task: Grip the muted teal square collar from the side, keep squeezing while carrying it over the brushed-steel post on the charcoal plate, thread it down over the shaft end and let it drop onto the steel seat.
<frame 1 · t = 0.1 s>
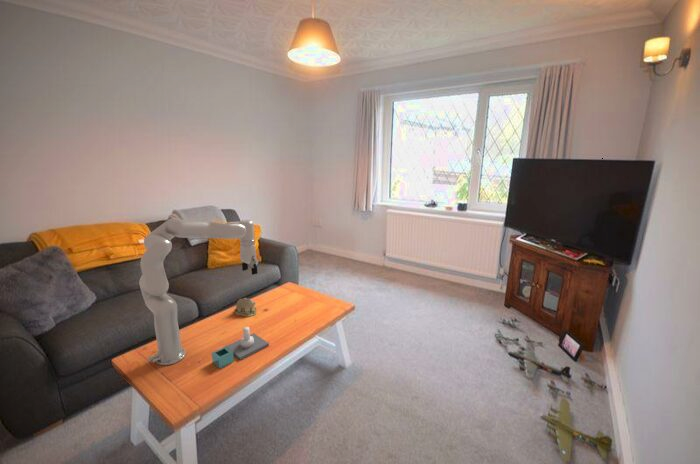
hand: (249, 271, 177), 31 cm above the table, fingers open, 9 cm apart
ceramic model: (245, 313, 196), on the table
post plate: (247, 347, 160), on the table
collar: (223, 361, 149), on the table
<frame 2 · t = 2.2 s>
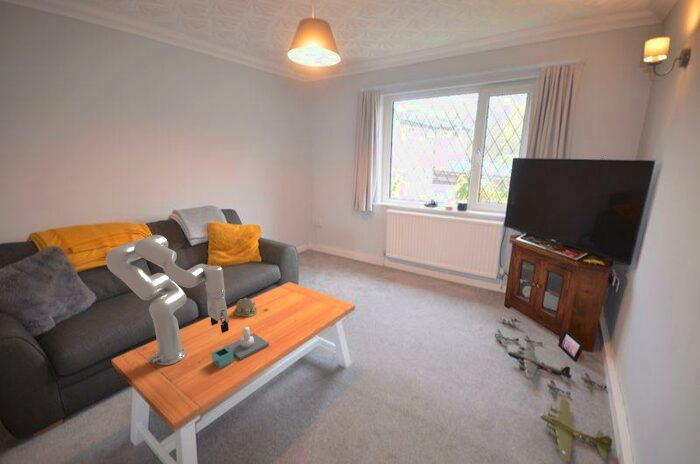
hand: (219, 327, 145), 18 cm above the table, fingers open, 9 cm apart
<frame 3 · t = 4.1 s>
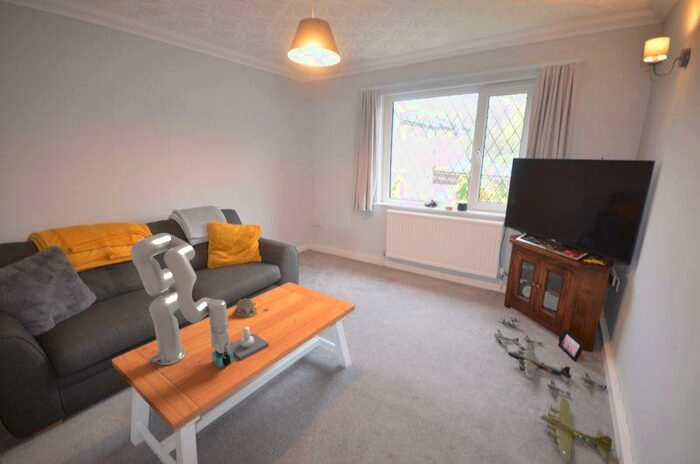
hand: (223, 360, 149), 1 cm above the table, fingers closed on collar, 7 cm apart
collar: (223, 361, 149), on the table, touching gripper
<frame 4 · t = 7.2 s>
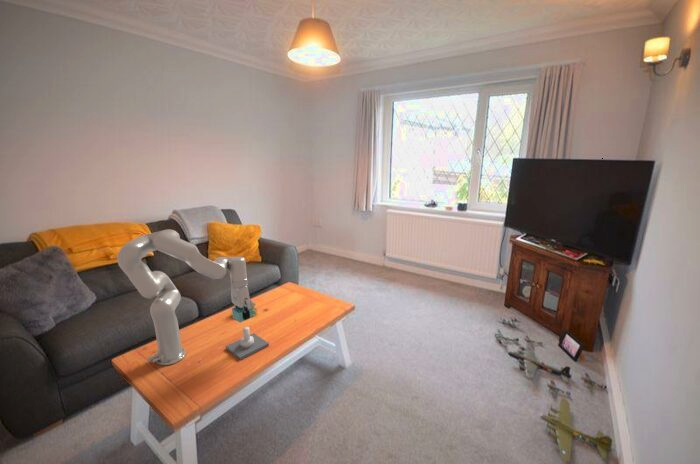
hand: (242, 316, 155), 18 cm above the table, fingers closed on collar, 7 cm apart
collar: (242, 317, 155), point 17 cm above the table, touching gripper
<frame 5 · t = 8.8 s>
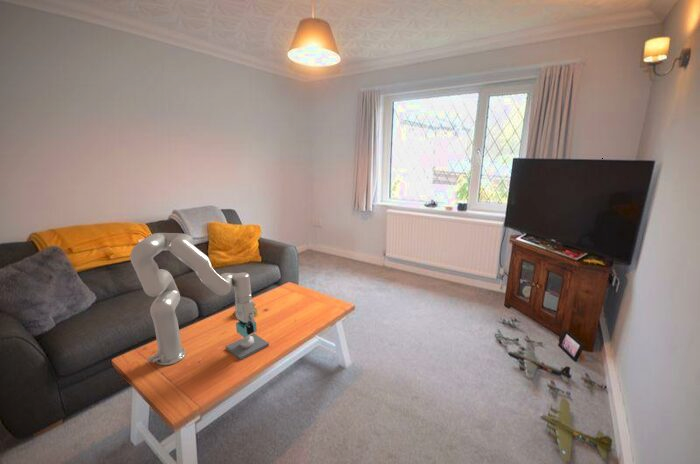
hand: (246, 330, 158), 10 cm above the table, fingers closed on collar, 7 cm apart
collar: (246, 331, 158), point 9 cm above the table, touching gripper
when the fingers open (7 cm above the table, at t = 10.3 s): collar drops 1 cm, resting on post plate.
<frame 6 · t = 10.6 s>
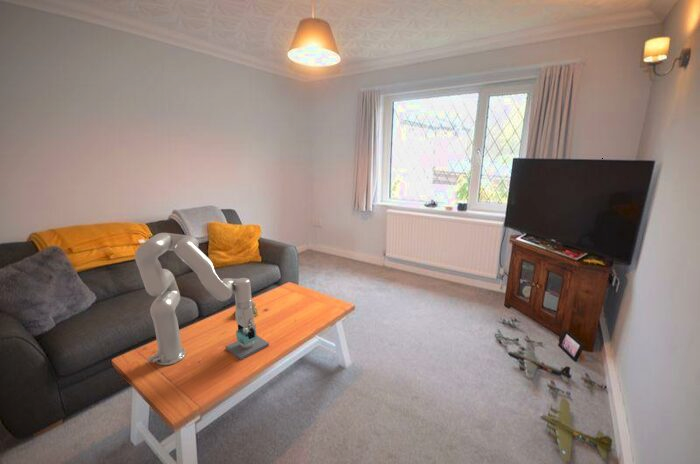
hand: (246, 334, 159), 7 cm above the table, fingers open, 9 cm apart
collar: (246, 339, 159), point 4 cm above the table, touching post plate
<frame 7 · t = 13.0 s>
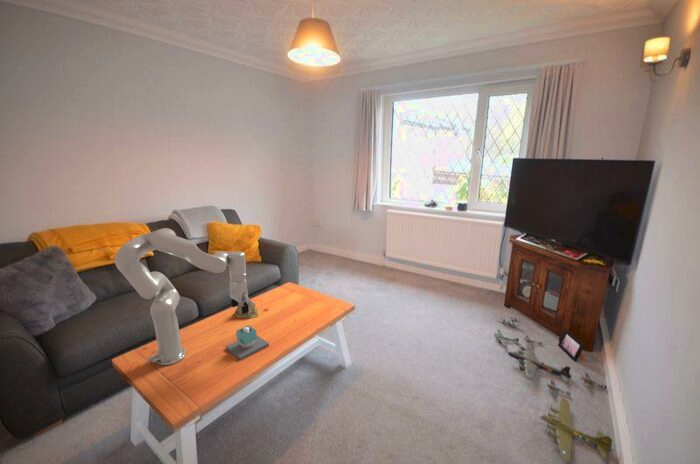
hand: (240, 309, 156), 21 cm above the table, fingers open, 9 cm apart
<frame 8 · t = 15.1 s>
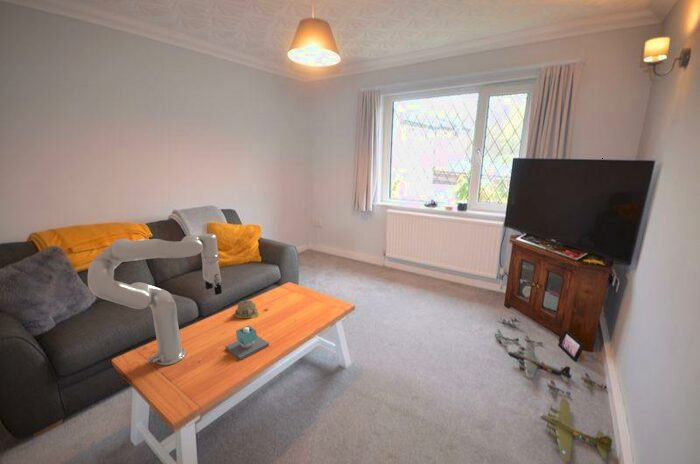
hand: (213, 291, 159), 28 cm above the table, fingers open, 9 cm apart
at the end: collar 0.1 cm off-centre on the post plate, point 4.5 cm above the post plate's base; collar tilted 0°; the gripper is holding nothing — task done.
